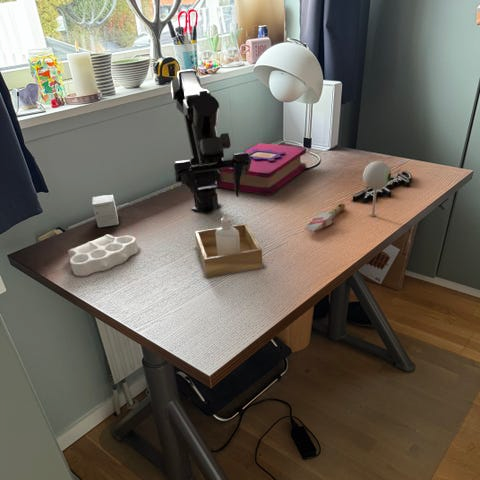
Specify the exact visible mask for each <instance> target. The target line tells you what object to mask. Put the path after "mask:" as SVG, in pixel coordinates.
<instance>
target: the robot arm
mask: <svg viewBox="0 0 480 480" xmlns="http://www.w3.org/2000/svg"><path fill="white" fill-rule="evenodd" d="M170 91H171V97H172V101H174V102H175V106H176V109H177V110H178V111H179V112H180V113H181V114H182V115H183V119H184V124H185V129H186V135H187V138H188V143H189V148H190V152H191V159H184V160H177V161H174V163H173V172H174V173H173V174H174V179H175V182H176V183H181V185H186V187H188V189H189V190H190V193H191V194H193V200H194V206H193V207H192V208H191V210H192V211H195V212H201V213H204V214H205V213H206V214H210V213H211V212H213V211H215V210H217V209H218V208H220V207H221V203H219V199H218V193H217V190H219V189H220V188H221V187H220V173H219V172H218V170H220V169H227V168H233V172H234V173H233V180H234V187H235V190H234V193H235V197H236V198H239V194H240V190H239V186H240V177H241V176H244V175H245V173H246V172H248V171H249V169H250V165H251V157H250V154H249V153H248V152H244V151H242V152H235V153H233V154H232V158H233V159H232V158H231V159H232V160H230V159H225V160H224V157H225V154H224V150H226V149H230V147H231V138H230V135H229V132H224V133H221V134H220V135H219V136H218V132H217V127H216V126H217V124H218V117H219V110H220V103H219V101H218V99H217V98H216V97H215V96H213V95H212V93H211V92H210V91H209V90H208V89H205V88H203V87H202V84H201V78H200V77H199V76H198V74H197V71H196V69H192V68H191V69H183V70H179V71H177V73H176V76H175V77H174V78H173V79H172V80H171V81H170Z"/></svg>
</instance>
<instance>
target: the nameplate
mask: <svg viewBox="0 0 480 480" xmlns="http://www.w3.org/2000/svg"><path fill="white" fill-rule="evenodd" d="M412 178H413V175H412V174H411V173H410V172H409V171H407V170H402V171H401V172H398V173H397V176H391V177H390V180H389V182H388V184H387V185H386V186H384V187H383V188H381V189H377V192H376V199H377V198H378V197H379V198H384V196H385V197H388V198H391V197H392V190H393V189H394V188H398V187H399V186H404V187H406V188H409V187H410V184H411V183H412ZM373 196H374V189H371V188H369V187H368V186H367V187H366V188H365V189H362V190H361V191H359V192H357V193H355V194H353V195H352V202H355V203H356V202H358V201H360V200H362V199H363V201H362V203H364V204H367V202H369V201H371V202H373Z"/></svg>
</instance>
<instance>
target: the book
mask: <svg viewBox="0 0 480 480" xmlns="http://www.w3.org/2000/svg"><path fill="white" fill-rule="evenodd" d="M243 152H248V153H249V154H250V157H251V165H250V169H249V171H248V172H246V173H245V175H244V176H241V177H240V186H239V191H241V192H248V193H253V194H259V195H262V196H263V195H264V196H271V195H273V194H274V193H276V192H277V190H278V189H279V188H281V187H283V186H284V185H285V184H286V183H288V182H289V181H291V180H292V179H293V178H294V177H296V176H297V175H298V174H300V173H302V172H304V171H305V170H306V169H307V163H305V162H301V157H302V156H304V155H305V154H306V153H307V147H305V146H293V145H283V144H273V143H262V142H258V143H257V144H254V145H253V146H251V147H250V148H248V149H245V150H244V151H243ZM232 159H233V157H232V158H230V159H229V160H232ZM218 172H219V173H220V187H219V188H221V189H228V190H234V191H235V187H234V180H233V173H234V172H233V168H227V169H220V170H218Z"/></svg>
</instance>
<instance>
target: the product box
mask: <svg viewBox="0 0 480 480" xmlns="http://www.w3.org/2000/svg"><path fill="white" fill-rule="evenodd" d="M91 201H92V203H91V205H92V209H93V213H94V218H95V221H96V226H97V228H99V229H100V228H106V227H111V226H118V225H119V216H118V211H117V206H116V201H115V197H114V194H105V195H98V196H92V199H91Z"/></svg>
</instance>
